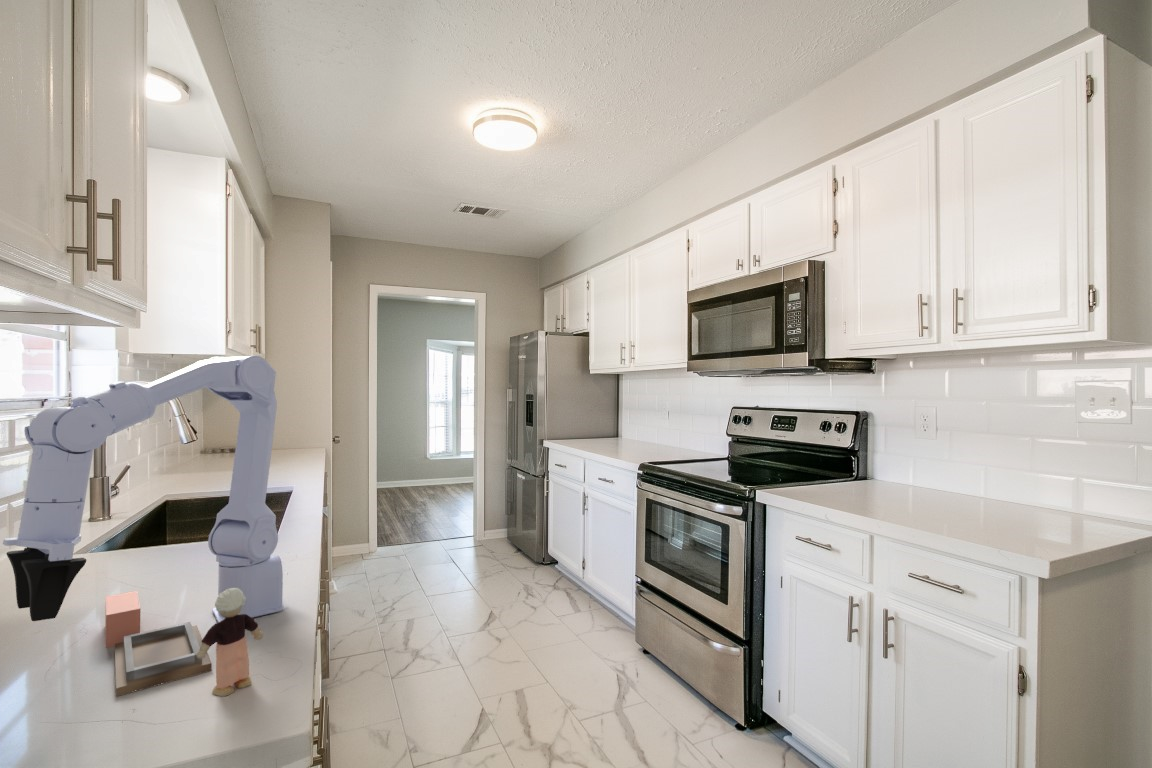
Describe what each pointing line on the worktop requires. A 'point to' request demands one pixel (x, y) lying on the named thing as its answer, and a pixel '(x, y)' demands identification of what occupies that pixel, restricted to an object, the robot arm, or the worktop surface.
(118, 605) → the block
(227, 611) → the grandmother figurine
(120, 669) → the cradle
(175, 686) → the worktop surface
